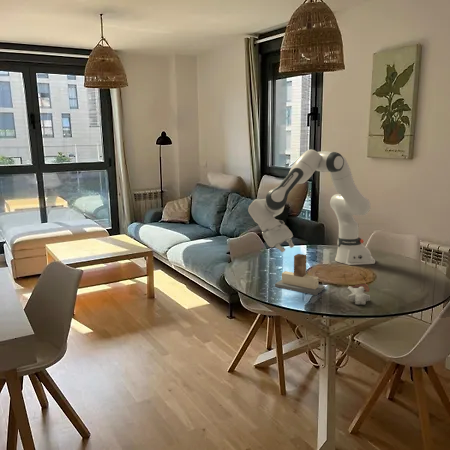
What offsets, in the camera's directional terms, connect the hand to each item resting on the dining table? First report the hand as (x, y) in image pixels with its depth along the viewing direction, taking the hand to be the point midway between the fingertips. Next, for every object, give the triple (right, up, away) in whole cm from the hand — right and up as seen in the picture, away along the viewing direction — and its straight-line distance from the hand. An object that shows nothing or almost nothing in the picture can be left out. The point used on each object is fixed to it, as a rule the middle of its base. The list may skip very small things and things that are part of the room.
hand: (288, 249), depth 218 cm
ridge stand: (+6, -19, 0) cm, 20 cm away
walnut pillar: (+5, -13, -1) cm, 14 cm away
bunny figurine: (+29, -23, -16) cm, 40 cm away
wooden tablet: (+35, -18, +6) cm, 40 cm away
